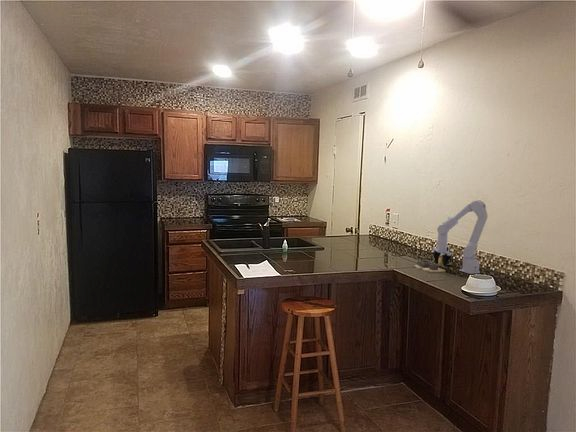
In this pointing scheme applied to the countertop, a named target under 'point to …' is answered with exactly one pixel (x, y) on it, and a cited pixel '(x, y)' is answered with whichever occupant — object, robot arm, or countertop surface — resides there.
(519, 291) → the countertop surface
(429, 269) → the manifold board
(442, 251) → the robot arm
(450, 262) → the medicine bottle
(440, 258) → the brass fitting
